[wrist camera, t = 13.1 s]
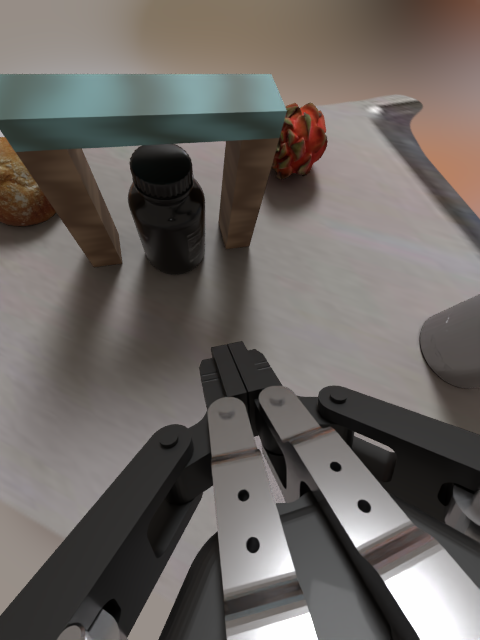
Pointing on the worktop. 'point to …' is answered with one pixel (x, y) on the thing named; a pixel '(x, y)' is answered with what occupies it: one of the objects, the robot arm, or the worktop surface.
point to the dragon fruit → (300, 141)
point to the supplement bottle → (167, 207)
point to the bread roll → (20, 192)
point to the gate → (140, 139)
